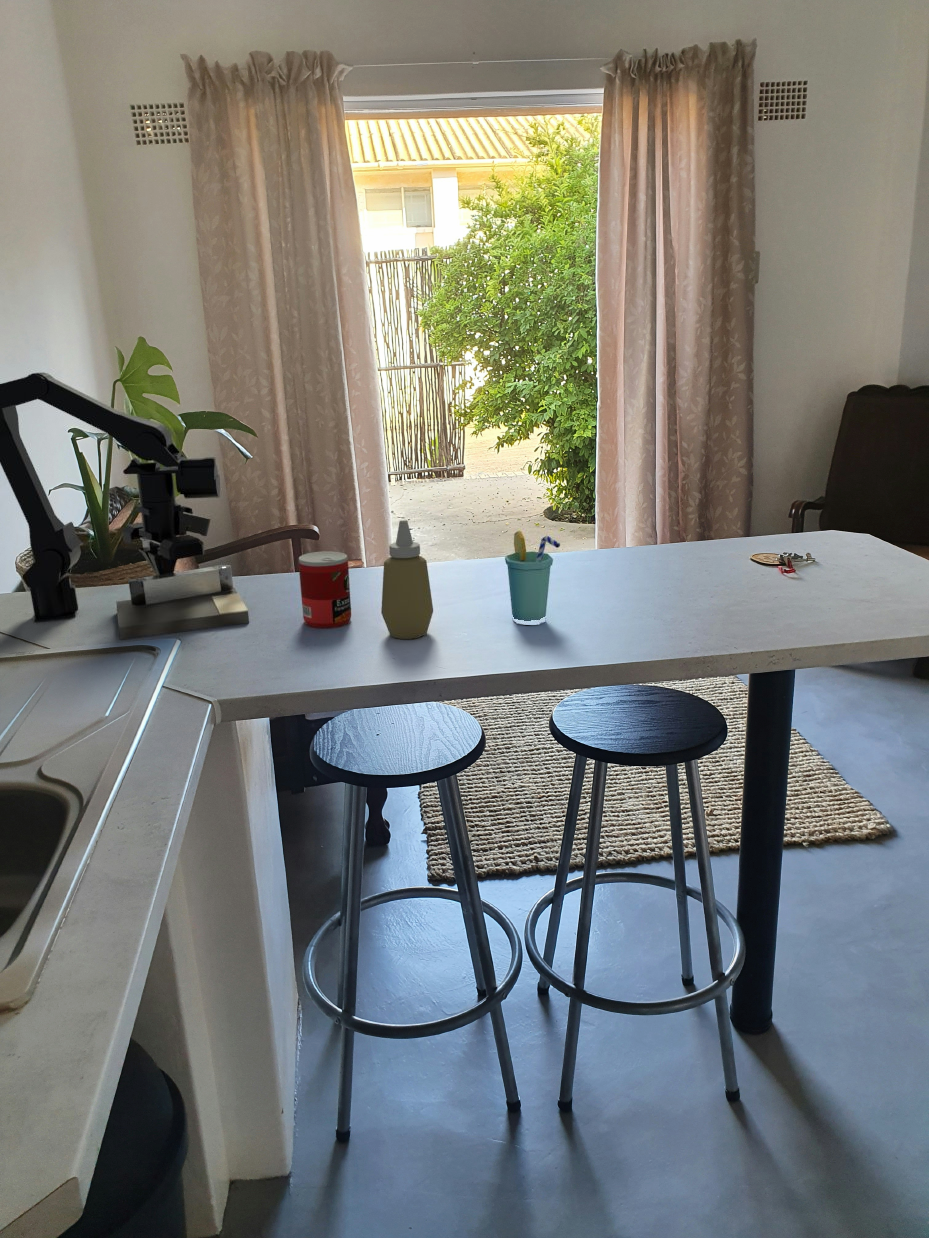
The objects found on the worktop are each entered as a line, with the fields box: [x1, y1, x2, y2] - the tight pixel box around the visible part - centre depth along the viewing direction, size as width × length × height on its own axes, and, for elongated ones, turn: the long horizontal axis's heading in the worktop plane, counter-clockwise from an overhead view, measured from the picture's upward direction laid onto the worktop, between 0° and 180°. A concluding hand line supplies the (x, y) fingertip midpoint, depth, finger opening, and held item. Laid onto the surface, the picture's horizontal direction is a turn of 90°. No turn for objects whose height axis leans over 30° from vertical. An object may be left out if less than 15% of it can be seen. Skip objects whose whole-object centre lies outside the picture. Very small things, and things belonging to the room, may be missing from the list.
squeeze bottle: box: [380, 519, 434, 640], centre depth 137 cm, size 8×8×18 cm
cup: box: [504, 530, 561, 621], centre depth 142 cm, size 14×8×15 cm, turn 30°
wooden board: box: [115, 587, 250, 641], centre depth 150 cm, size 20×16×2 cm
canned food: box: [298, 550, 352, 629], centre depth 145 cm, size 8×8×11 cm
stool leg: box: [128, 564, 234, 606], centre depth 154 cm, size 18×3×4 cm, turn 124°
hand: (167, 587), depth 155 cm, fingers closed
